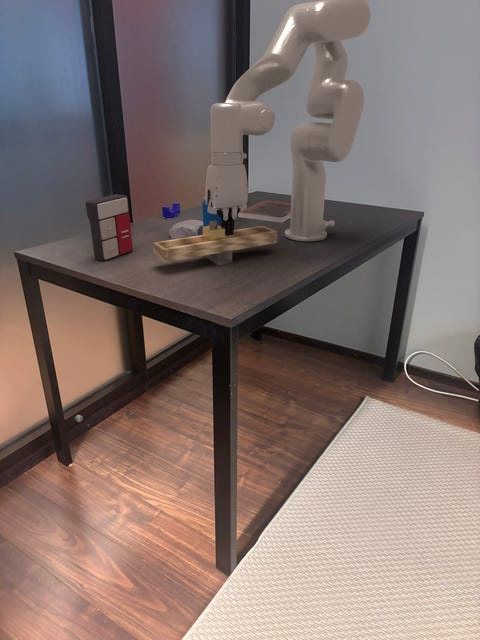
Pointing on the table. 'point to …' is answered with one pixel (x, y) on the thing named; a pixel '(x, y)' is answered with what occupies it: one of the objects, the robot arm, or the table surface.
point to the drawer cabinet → (109, 226)
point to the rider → (213, 232)
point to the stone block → (186, 229)
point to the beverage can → (209, 216)
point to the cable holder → (173, 212)
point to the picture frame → (268, 211)
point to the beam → (214, 245)
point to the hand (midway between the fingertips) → (227, 234)
